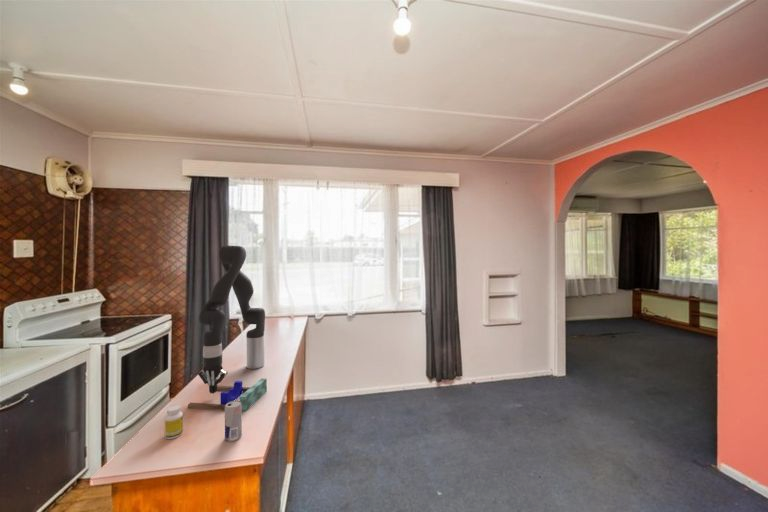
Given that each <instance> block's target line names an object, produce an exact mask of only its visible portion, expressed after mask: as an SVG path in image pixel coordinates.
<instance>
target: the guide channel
mask: <svg viewBox="0 0 768 512" xmlns="http://www.w3.org/2000/svg"><path fill="white" fill-rule="evenodd" d="M267 380H268V379H267V378H260V379H259V380H258V381H256V382H255V383H254V384H253V385H251V386H242V391H243V392H242V394H241V395H240V396H239V401H240V402H241V404H242V412H246V411H248V410H249V409H250V408H251V407H252V406H253V405H252V404H255V403H256V402H257V401H258V400H260V398H261V397H262V396H264V395H265V393H266V392H267V390H268V388H267V387H268V386H267V383H268V382H267ZM233 387H234V385H217V391H223V390H230V389H231V388H233ZM251 405H252V406H251ZM250 406H251V407H250ZM188 407H189V408H188ZM187 408H188V409H198V408H202V410H203V408H204V410H215V409H221V410H220V411H225V405H224V404H221V403H204V402H202V403H201V402H189V403H187Z"/></svg>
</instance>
